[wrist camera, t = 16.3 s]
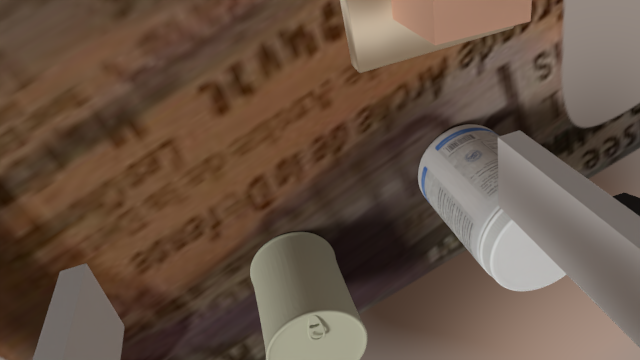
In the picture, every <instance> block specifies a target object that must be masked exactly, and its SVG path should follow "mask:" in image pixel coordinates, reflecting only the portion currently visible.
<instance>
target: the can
mask: <svg viewBox="0 0 640 360" xmlns="http://www.w3.org/2000/svg"><path fill="white" fill-rule="evenodd" d="M250 276H251V280H252V283H253V285H254V289H255V294H256V299H257V304H258V309H259V315H260V320H261V326H262V331H263V337H264V343H265V350H266V360H360V358H361V356H362V355H363V353H364V351H365V349H366V346H367V332H366V328H365V326H364V324H363V323H362V321H361V319H360V317H359V314H358V312H357V310H356V308H355V305H354V303H353V301H352V298H351V296H350V294H349V291H348V289H347V286H346V284H345V282H344V279H343V277H342V274H341V272H340V270H339V267H338V264H337V262H336V257H335V253H334V251H333V249H332V247H331V245H330V244H329V243H328V242H327V241H326V240H325V239H323V238H322V237H320V236H318V235H316V234H313V233H308V232H291V233H286V234H283V235H280V236H277V237H275V238H273V239H272V240H270V241H268V242H267V243H266V244H265V245H263V246H262V247H261V248H260V249H259V251H258V252H257V253H256V255H255V256H254V258H253V261H252V264H251V268H250Z"/></svg>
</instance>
